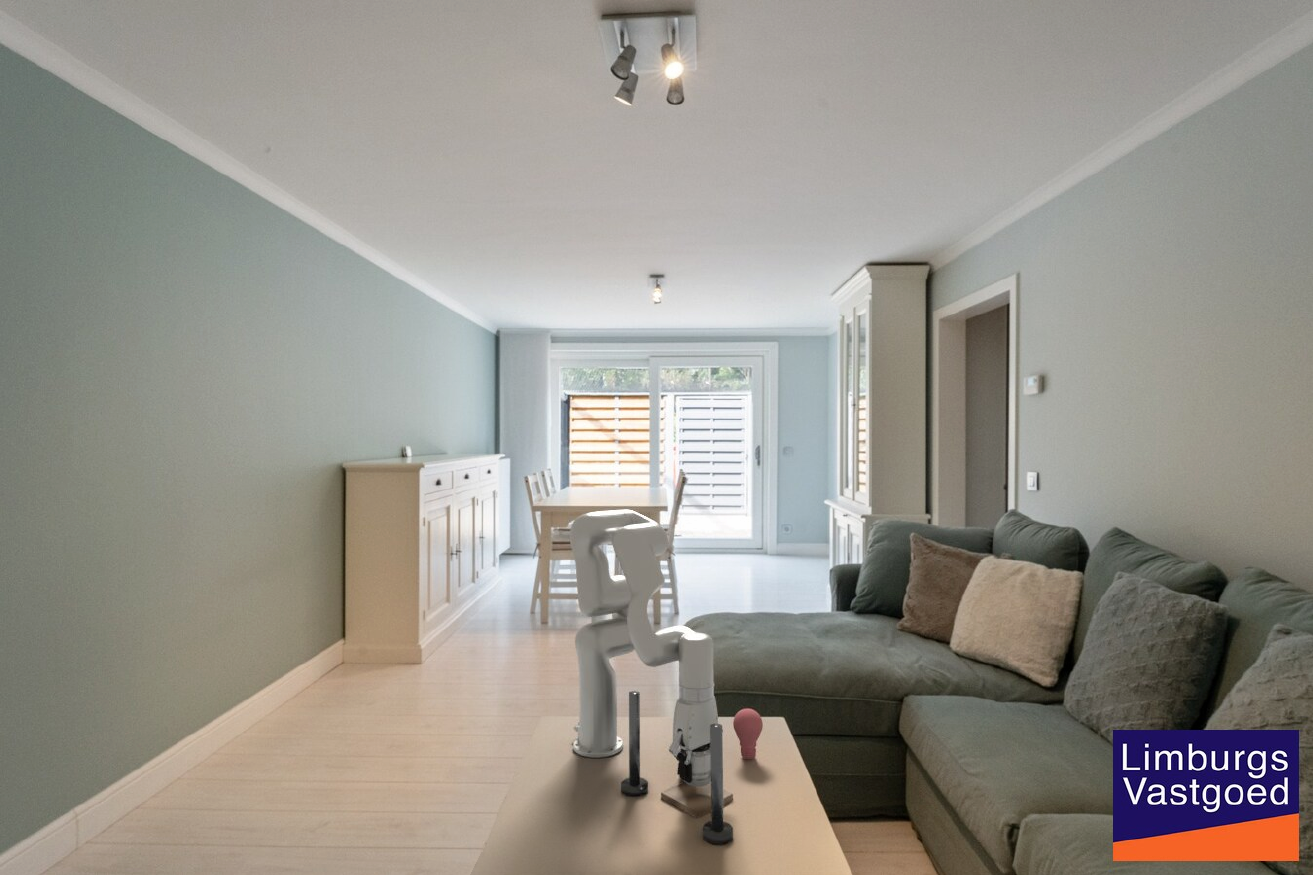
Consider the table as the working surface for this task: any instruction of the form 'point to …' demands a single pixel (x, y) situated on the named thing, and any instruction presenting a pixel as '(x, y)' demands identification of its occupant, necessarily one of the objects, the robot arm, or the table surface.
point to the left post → (634, 751)
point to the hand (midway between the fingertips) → (697, 774)
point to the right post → (717, 793)
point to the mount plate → (693, 798)
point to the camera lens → (700, 766)
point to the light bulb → (748, 731)
